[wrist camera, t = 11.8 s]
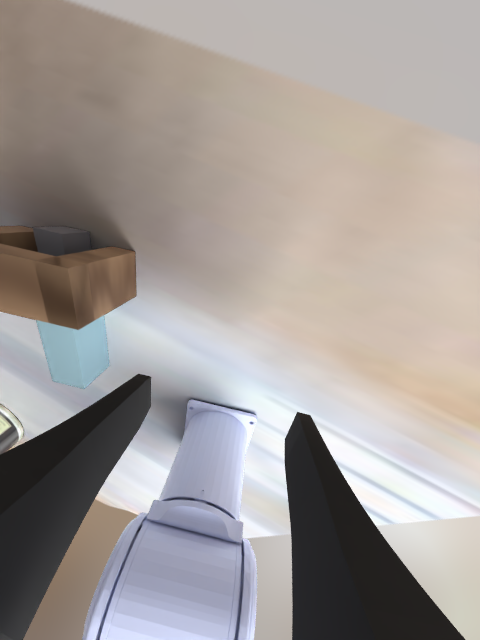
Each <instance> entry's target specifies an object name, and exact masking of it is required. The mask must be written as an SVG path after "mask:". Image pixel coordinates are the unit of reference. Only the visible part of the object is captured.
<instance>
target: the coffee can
mask: <svg viewBox="0 0 480 640" xmlns="http://www.w3.org/2000/svg"><path fill="white" fill-rule="evenodd" d="M23 435H24V430H23V427H22V425H21V423H20V421H19V420H18V419H17V418H16V417H15V416H14V414H13V413H11V412H10V411H9V410H8V409H6V408H5V407H4V406H2V405H1V404H0V454H2V453H5V452H6V451H8V450H9V449H10V448H11V447H12V446H13V445H14V444H15V443H17V442H18V441H20V440H21V439H22V437H23Z"/></svg>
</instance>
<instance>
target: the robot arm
mask: <svg viewBox="0 0 480 640" xmlns="http://www.w3.org/2000/svg"><path fill="white" fill-rule="evenodd" d="M150 407H151V377H149V376H145V375H141V374H138V375H136V376H134V377H133V378H131V379H130V380H129V381H127V382H126V383H124V384H123V385H121V386H120V387H118V388H117V389H115V390H114V391H112V392H111V393H109V394H108V395H106V396H105V397H103V398H102V399H100V400H99V401H97V402H96V403H94V404H93V405H91V406H89V407H88V408H86V409H84V410H83V411H81V412H79V413H78V414H76V415H74V416H73V417H71V418H69V419H68V420H66V421H64V422H63V423H61V424H59V425H57V426H56V427H54V428H52V429H50V430H48V431H46V432H45V433H43V434H41V435H39V436H37V437H35V438H33V439H31V440H29V441H27V442H25V443H23V444H21V445H19V446H17V447H15V448H13V449H11V450H9V451H7V452H5V453H2V454H0V640H23V638H24V636H25V634H26V632H27V630H28V628H29V625H30V624H31V622H32V619H33V618H34V615H35V613H36V611H37V609H38V607H39V605H40V603H41V601H42V599H43V597H44V595H45V593H46V591H47V589H48V587H49V585H50V583H51V581H52V579H53V577H54V575H55V573H56V571H57V569H58V567H59V565H60V563H61V561H62V559H63V557H64V555H65V553H66V552H67V550H68V548H69V546H70V544H71V542H72V540H73V538H74V536H75V534H76V532H77V531H78V529H79V527H80V525H81V523H82V521H83V519H84V517H85V516H86V514H87V512H88V510H89V508H90V506H91V505H92V503H93V501H94V499H95V498H96V496H97V494H98V492H99V490H100V488H101V487H102V485H103V484H104V482H105V480H106V479H107V477H108V475H109V474H110V472H111V471H112V469H113V468H114V466H115V465H116V463H117V462H118V460H119V459H120V457H121V456H122V454H123V453H124V451H125V450H126V448H127V447H128V445H129V444H130V442H131V440H132V439H133V437H134V436H135V434H136V433H137V431H138V430H139V428H140V426H141V424H142V422H143V421H144V419H145V417H146V415H147V413H148V411H149V409H150ZM251 421H252V422H251ZM256 422H257V416H256V415H254V414H250V413H246V412H242V411H238V410H234V409H229V408H225V407H221V406H217V405H213V404H209V403H205V402H201V401H196V400H189V402H188V405H187V413H186V422H185V431H184V437H183V439H182V442H181V444H180V447H179V450H178V452H177V455H176V457H175V460H174V462H173V465H172V467H171V470H170V473H169V475H168V478H167V480H166V483H165V485H164V488H163V490H162V493H161V496H160V498H159V500H154V501H153V503H152V506H151V508H150V511H149V513H148V514H147V513H140V514H139V515H138V516H137V517H136V518H135V519H133V520H132V521H131V522H130V523H129V524H128V525H127V526H126V528H125V529H124V531H123V533H122V534H121V536H120V538H119V540H118V542H117V544H116V545H115V547H114V549H113V551H112V553H111V555H110V558H109V560H108V562H107V564H106V567H105V569H104V571H103V573H102V576H101V578H100V581H99V583H98V586H97V588H96V591H95V593H94V596H93V599H92V602H91V605H90V608H89V611H88V614H87V618H86V622H85V627H84V635H83V638H82V640H253V639H254V631H255V620H256V619H255V618H256V604H257V565H256V557H255V554H254V551H253V549H252V547H251V544H250V542H249V540H248V539H244V538H242V533H243V522H240V521H239V517H240V507H241V497H242V487H243V476H244V466H245V456H246V451H247V448H248V445H249V442H250V439H251V436H252V433H253V430H254V428H255V425H256ZM285 471H286V482H287V492H288V502H289V512H290V522H291V537H292V587H293V588H292V590H293V591H292V593H293V626H292V628H293V629H292V630H293V632H292V636H293V637H292V640H465V639H464V637H463V636H462V635H461V634H460V633H459V632H458V631H457V629H456V628H455V627H454V626H453V625H452V623H451V622H450V621H449V620H448V619H447V617H446V616H445V615H444V614H443V613H442V611H441V610H440V609H439V608H438V606H437V605H436V604H435V603H434V602H433V600H432V599H431V598H430V597H429V595H427V593H426V592H425V591H424V589H423V588H422V587H421V586H420V584H419V583H418V582H417V580H416V579H415V578H414V577H413V575H412V574H411V573H410V571H409V570H408V569H407V568H406V566H405V565H404V564H403V562H402V561H401V560H400V558H399V557H398V556H397V554H396V553H395V552H394V551H393V549H392V548H391V547H390V545H389V544H388V543H387V541H386V540H385V539H384V537H383V536H382V534H381V533H380V531H379V530H378V529H377V527H376V526H375V524H374V523H373V521H372V520H371V519H370V517H369V516H368V514H367V513H366V511H365V510H364V508H363V507H362V505H361V504H360V502H359V501H358V499H357V497H356V496H355V494H354V493H353V491H352V489H351V488H350V486H349V485H348V483H347V481H346V480H345V478H344V476H343V475H342V473H341V471H340V469H339V468H338V466H337V464H336V462H335V461H334V459H333V457H332V455H331V454H330V452H329V450H328V448H327V446H326V444H325V443H324V441H323V439H322V437H321V435H320V433H319V431H318V429H317V427H316V425H315V423H314V421H313V419H312V418H311V416H310V415H307V414H303V413H299V412H297V414H296V416H295V419H294V421H293V423H292V425H291V427H290V429H289V432H288V434H287V436H286V438H285Z"/></svg>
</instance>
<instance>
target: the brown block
mask: <svg viewBox="0 0 480 640" xmlns="http://www.w3.org/2000/svg"><path fill="white" fill-rule="evenodd" d="M134 297H136V262H135V251H130V250H126V249H121V248H117V247H113V246H112V247H106V248H100V249H95V250H89V251H84V252H78V253H72V254H67V255H61V256H52V255H48V254H43V253H39V252H38V250H37V245H36V241H35V237H34V232H33V228H29V227H24V226H0V312H4V313H9V314H13V315H17V316H21V317H25V318H30V319H34V320H38V321H42V322H46V323H51V324H55V325H59V326H63V327H68V328H72V329H76V330H80V329H81V328H83V327H85V326H86V325H88V324H90V323H91V322H93V321H95V320H97V319H98V318H100V317H102V316H103V315H105V314H107V313H108V312H110V311H112V310H114V309H115V308H117V307H119V306H120V305H122V304H124V303H126V302H127V301H129V300H131V299H132V298H134Z"/></svg>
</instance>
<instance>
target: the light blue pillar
mask: <svg viewBox="0 0 480 640" xmlns="http://www.w3.org/2000/svg"><path fill="white" fill-rule="evenodd" d="M32 228H33V232H34V237H35V241H36V245H37V250H38V252H39V253H43V254H48V255H52V256H61V255H67V254H72V253H78V252H84V251H89V250H92V249H91V241H90V233H89V232H88V231H83V230H79V229H75V228H70V227H66V226H53V227H32ZM36 322H37V325H38V329H39V333H40V336H41V340H42V344H43V347H44V351H45V355H46V358H47V362H48V366H49V369H50V373H51V377H52V380H53V381H54V382H58V383H62V384H66V385H70V386H74V387H78V388H82V389H85V388H86V387H87V386H88V385H89V384H90V383H91V382H92V381H94V380H95V379H96V378H97V377H98V376H99V375H100V374H101V373H102V372H103V371H104V370H105V369H107V368H108V367H109V356H108V347H107V338H106V328H105V319H104V315H103V316H102V317H100V318H98V319H97V320H95V321H93V322H91V323H90V324H88V325H86V326H85V327H83V328H81V329H80V330H76V329H72V328H68V327H63V326H59V325H55V324H51V323H46V322H42V321H38V320H36Z"/></svg>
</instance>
